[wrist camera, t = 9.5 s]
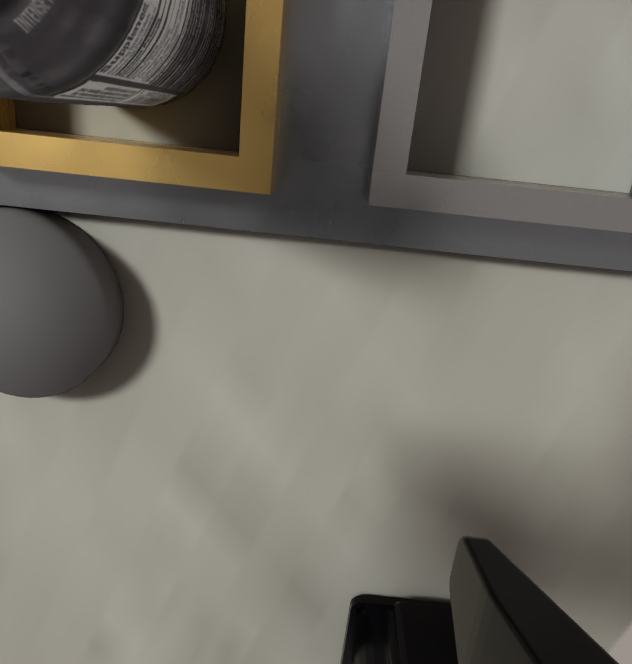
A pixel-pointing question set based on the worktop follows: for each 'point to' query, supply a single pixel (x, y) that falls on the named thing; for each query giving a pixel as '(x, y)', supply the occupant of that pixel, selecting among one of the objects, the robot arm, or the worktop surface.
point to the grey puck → (52, 304)
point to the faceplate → (320, 154)
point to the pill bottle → (107, 50)
